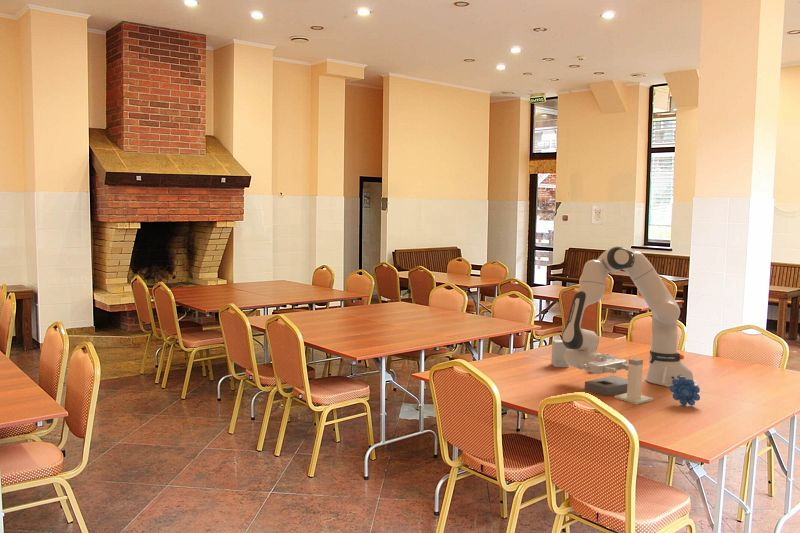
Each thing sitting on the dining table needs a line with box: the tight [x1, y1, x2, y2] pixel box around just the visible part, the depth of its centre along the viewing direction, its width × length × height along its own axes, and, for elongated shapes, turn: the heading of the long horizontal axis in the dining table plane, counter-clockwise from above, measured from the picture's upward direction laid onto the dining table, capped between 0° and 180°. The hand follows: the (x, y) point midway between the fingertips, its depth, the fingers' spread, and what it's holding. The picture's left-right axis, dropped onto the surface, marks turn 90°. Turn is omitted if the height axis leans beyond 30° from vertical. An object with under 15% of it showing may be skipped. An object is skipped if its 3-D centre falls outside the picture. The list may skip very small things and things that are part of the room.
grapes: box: [669, 376, 701, 406], centre depth 276 cm, size 12×7×12 cm, turn 70°
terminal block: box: [584, 375, 628, 397], centre depth 299 cm, size 20×12×4 cm, turn 125°
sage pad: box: [614, 392, 654, 405], centre depth 284 cm, size 11×11×1 cm
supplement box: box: [550, 339, 570, 368], centre depth 341 cm, size 7×7×13 cm
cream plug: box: [626, 357, 644, 399], centre depth 284 cm, size 4×4×16 cm
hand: (622, 369), depth 288 cm, fingers open, 8 cm apart
